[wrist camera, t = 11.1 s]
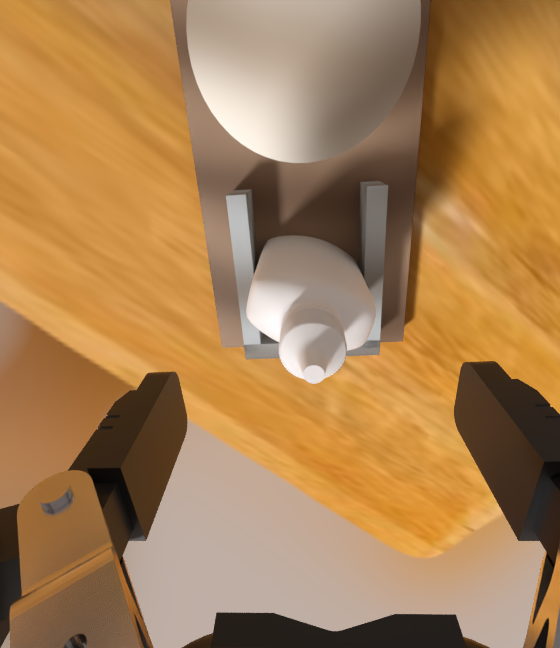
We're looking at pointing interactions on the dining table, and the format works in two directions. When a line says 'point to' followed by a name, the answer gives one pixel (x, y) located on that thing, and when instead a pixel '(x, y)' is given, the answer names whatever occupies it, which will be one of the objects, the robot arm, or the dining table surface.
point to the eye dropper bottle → (310, 304)
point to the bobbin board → (306, 189)
